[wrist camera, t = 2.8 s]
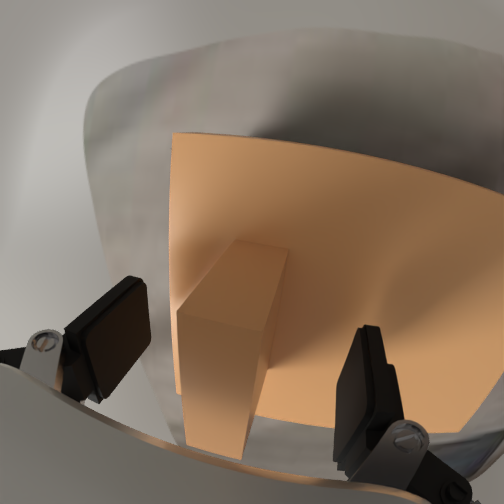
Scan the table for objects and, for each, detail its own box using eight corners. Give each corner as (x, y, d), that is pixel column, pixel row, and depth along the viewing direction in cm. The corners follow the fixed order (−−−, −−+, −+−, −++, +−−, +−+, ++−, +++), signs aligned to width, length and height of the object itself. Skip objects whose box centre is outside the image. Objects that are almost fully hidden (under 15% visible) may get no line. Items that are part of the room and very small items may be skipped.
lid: (542, 210, 9) (635, 268, 3) (451, 406, 15) (472, 496, 8) (197, 132, 12) (76, 140, 6) (191, 368, 17) (138, 460, 11)
